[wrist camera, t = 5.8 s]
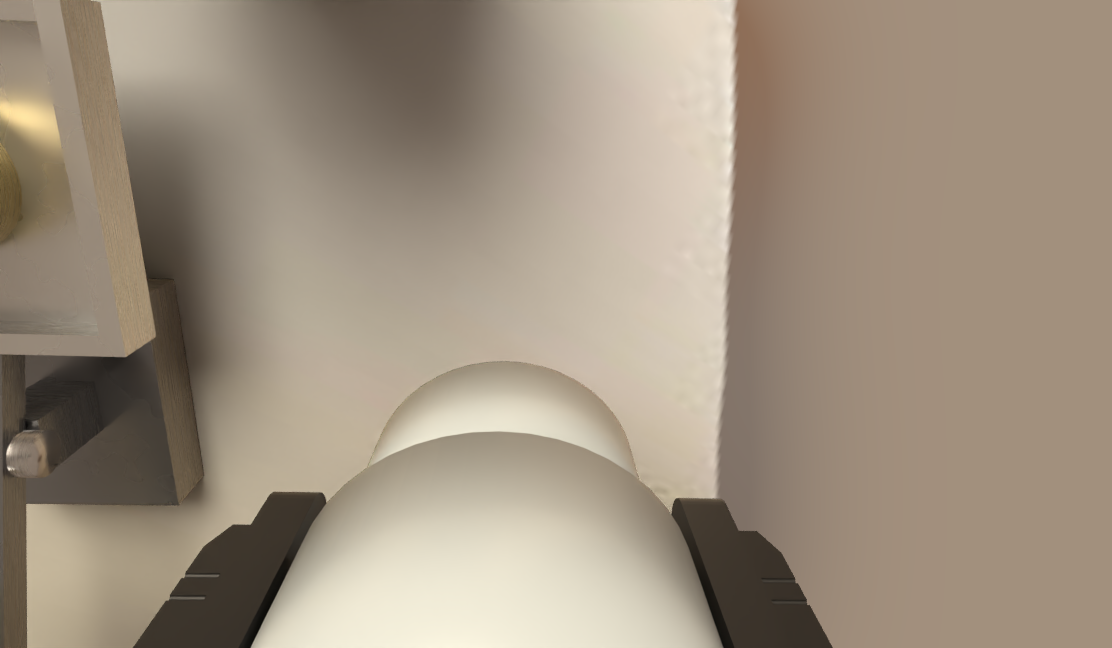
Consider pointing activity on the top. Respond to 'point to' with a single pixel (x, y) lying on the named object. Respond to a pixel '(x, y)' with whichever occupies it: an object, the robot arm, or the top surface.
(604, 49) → the top surface
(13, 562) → the balance
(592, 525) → the white stepped cylinder
